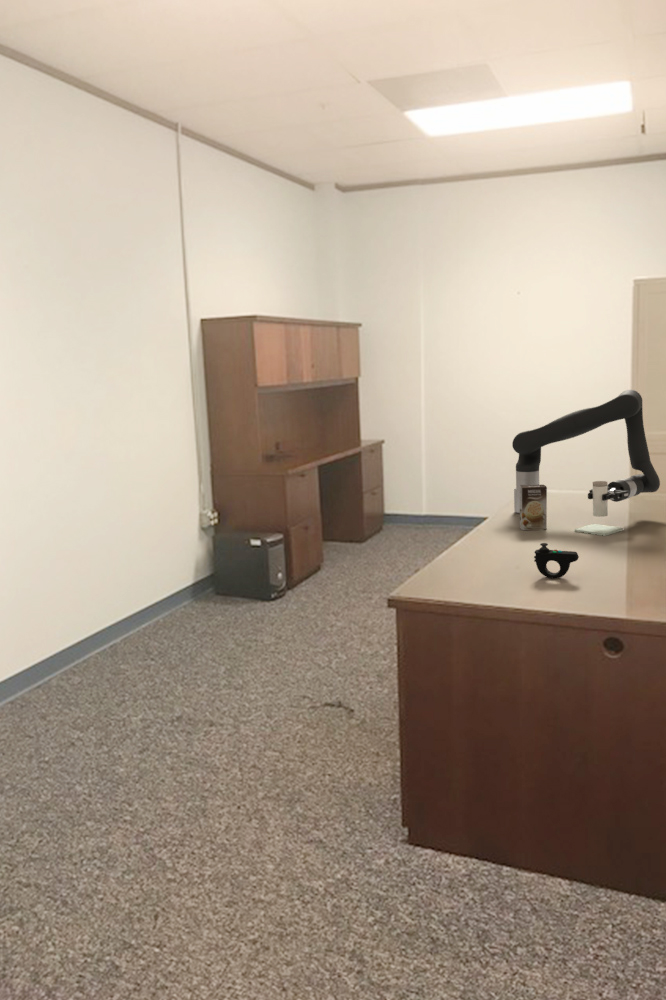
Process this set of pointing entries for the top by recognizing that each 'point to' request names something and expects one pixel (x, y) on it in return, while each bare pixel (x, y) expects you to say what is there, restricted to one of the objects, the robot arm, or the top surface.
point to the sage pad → (599, 529)
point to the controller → (554, 555)
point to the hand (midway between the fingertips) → (595, 497)
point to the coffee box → (533, 507)
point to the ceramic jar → (600, 499)
